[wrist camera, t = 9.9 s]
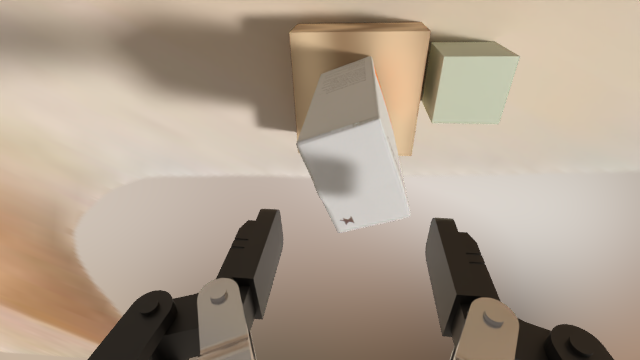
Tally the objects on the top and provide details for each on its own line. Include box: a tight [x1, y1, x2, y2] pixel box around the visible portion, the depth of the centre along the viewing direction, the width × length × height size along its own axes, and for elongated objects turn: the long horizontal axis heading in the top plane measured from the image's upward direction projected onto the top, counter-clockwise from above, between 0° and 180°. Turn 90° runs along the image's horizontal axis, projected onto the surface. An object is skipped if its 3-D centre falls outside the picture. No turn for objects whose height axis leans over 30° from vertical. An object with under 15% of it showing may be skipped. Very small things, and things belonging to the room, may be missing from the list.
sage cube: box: [422, 42, 520, 124], centre depth 25 cm, size 5×5×5 cm
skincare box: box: [296, 56, 411, 233], centre depth 20 cm, size 6×4×12 cm
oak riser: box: [289, 22, 431, 156], centre depth 27 cm, size 10×10×4 cm
